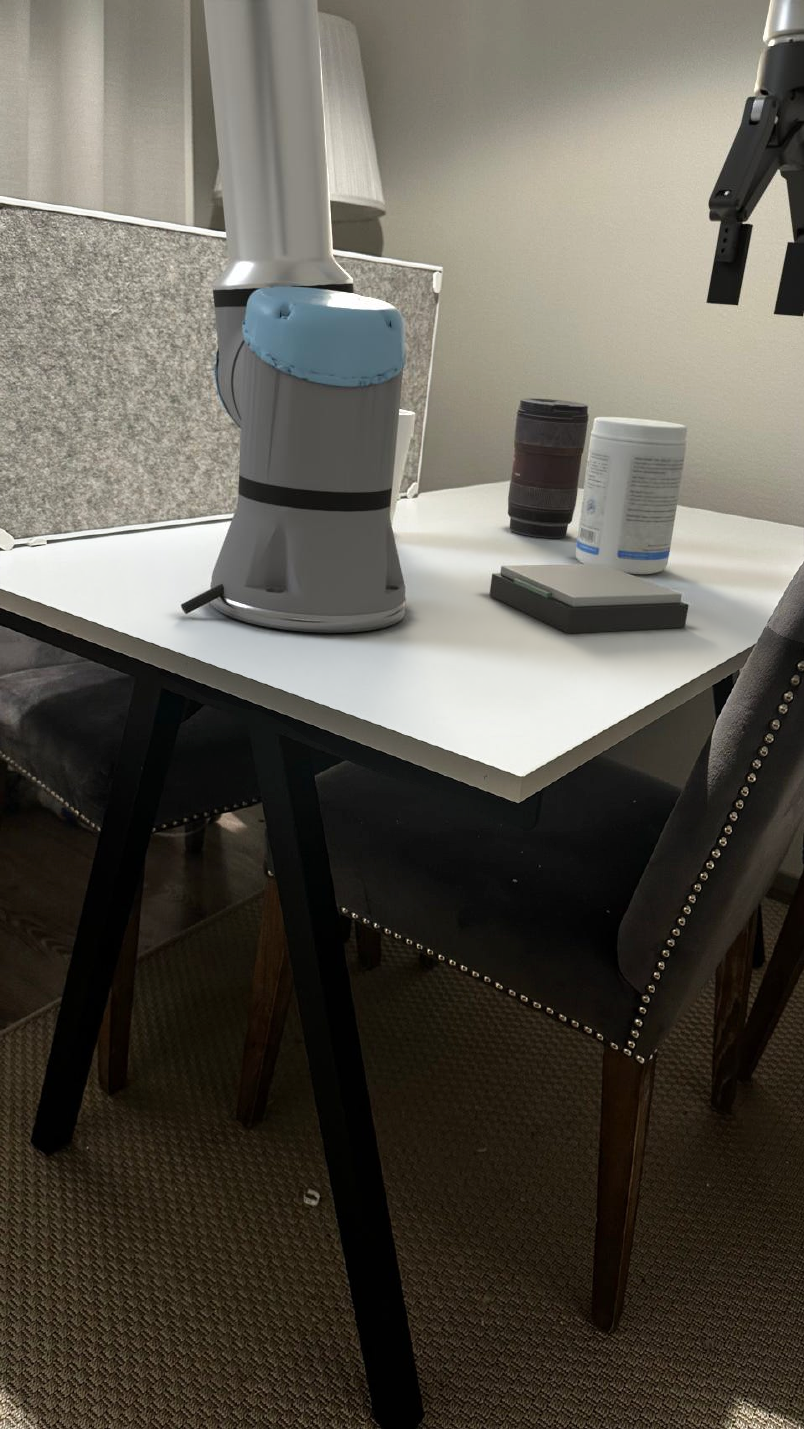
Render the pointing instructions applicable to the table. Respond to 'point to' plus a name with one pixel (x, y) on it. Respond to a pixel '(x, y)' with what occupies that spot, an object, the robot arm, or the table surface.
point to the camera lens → (546, 466)
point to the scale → (588, 598)
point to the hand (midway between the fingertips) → (756, 310)
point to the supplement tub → (631, 493)
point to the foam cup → (401, 453)
